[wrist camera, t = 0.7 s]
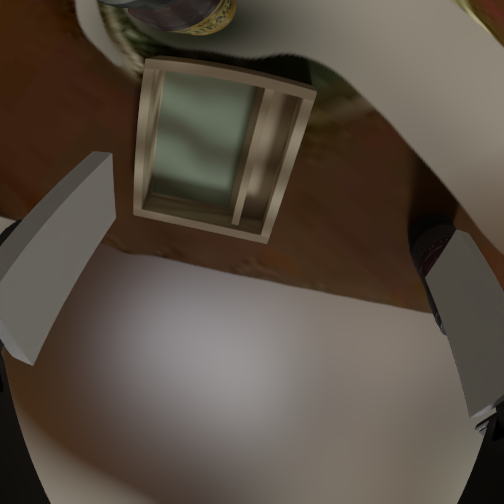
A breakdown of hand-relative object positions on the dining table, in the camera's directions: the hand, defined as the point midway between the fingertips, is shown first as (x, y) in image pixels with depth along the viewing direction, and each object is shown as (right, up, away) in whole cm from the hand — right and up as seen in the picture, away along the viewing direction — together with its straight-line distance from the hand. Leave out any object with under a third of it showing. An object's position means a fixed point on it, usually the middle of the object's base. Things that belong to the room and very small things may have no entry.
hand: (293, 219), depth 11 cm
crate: (-5, +11, +22) cm, 25 cm away
